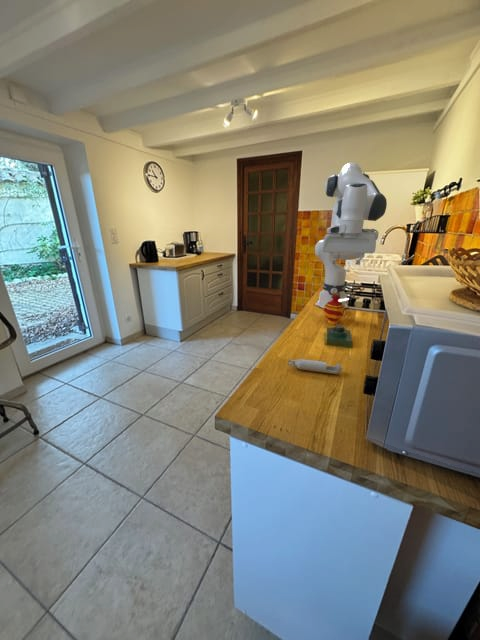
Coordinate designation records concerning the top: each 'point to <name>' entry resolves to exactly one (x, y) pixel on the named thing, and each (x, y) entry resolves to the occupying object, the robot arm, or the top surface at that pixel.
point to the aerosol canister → (315, 366)
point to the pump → (339, 328)
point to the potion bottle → (334, 309)
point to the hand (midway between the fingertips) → (345, 264)
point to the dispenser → (338, 338)
